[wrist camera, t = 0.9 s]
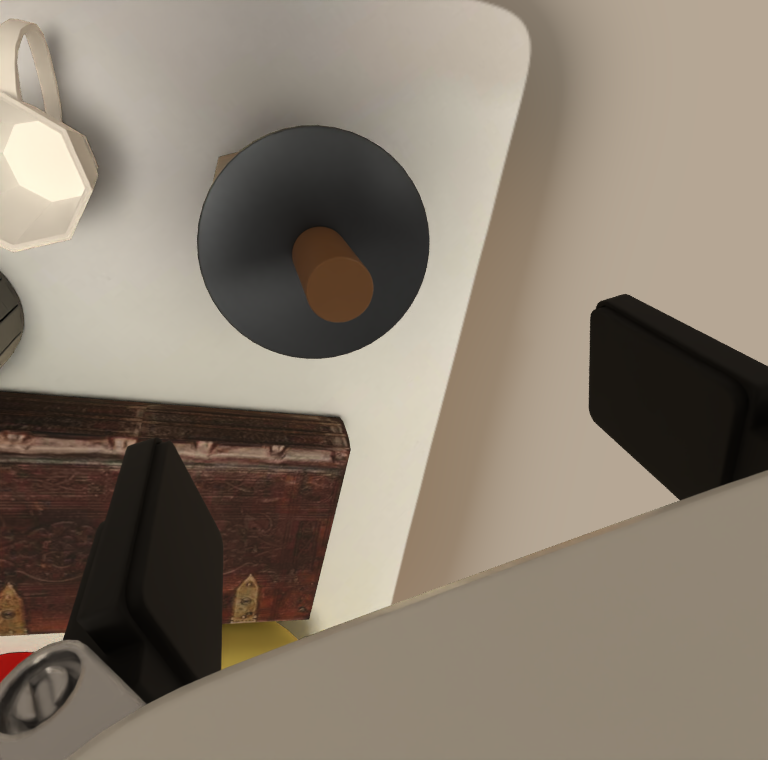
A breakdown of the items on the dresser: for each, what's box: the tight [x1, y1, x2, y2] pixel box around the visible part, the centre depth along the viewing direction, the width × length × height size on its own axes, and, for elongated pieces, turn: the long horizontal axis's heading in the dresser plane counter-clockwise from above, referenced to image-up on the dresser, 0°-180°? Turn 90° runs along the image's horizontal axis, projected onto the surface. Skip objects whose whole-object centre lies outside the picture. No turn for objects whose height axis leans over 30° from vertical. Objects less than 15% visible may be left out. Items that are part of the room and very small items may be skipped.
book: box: [0, 392, 351, 636], centre depth 41 cm, size 29×19×5 cm, turn 76°
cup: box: [0, 19, 99, 252], centre depth 26 cm, size 7×10×8 cm
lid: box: [197, 125, 429, 359], centre depth 20 cm, size 10×10×6 cm
